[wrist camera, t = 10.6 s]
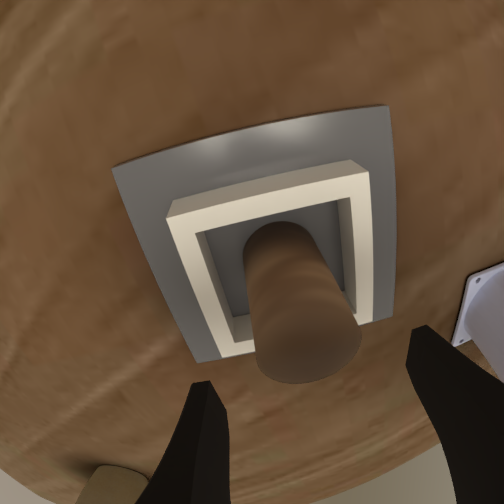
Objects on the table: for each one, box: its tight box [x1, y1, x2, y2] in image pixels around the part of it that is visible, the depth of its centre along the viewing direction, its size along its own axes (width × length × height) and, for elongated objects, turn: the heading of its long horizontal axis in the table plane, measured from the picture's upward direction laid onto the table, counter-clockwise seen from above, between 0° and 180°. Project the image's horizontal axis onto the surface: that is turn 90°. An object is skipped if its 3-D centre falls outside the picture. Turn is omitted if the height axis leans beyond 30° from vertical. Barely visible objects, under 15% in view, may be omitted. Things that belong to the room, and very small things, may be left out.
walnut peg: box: [243, 221, 361, 384], centre depth 14 cm, size 4×4×7 cm
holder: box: [111, 104, 397, 363], centre depth 17 cm, size 14×14×3 cm
